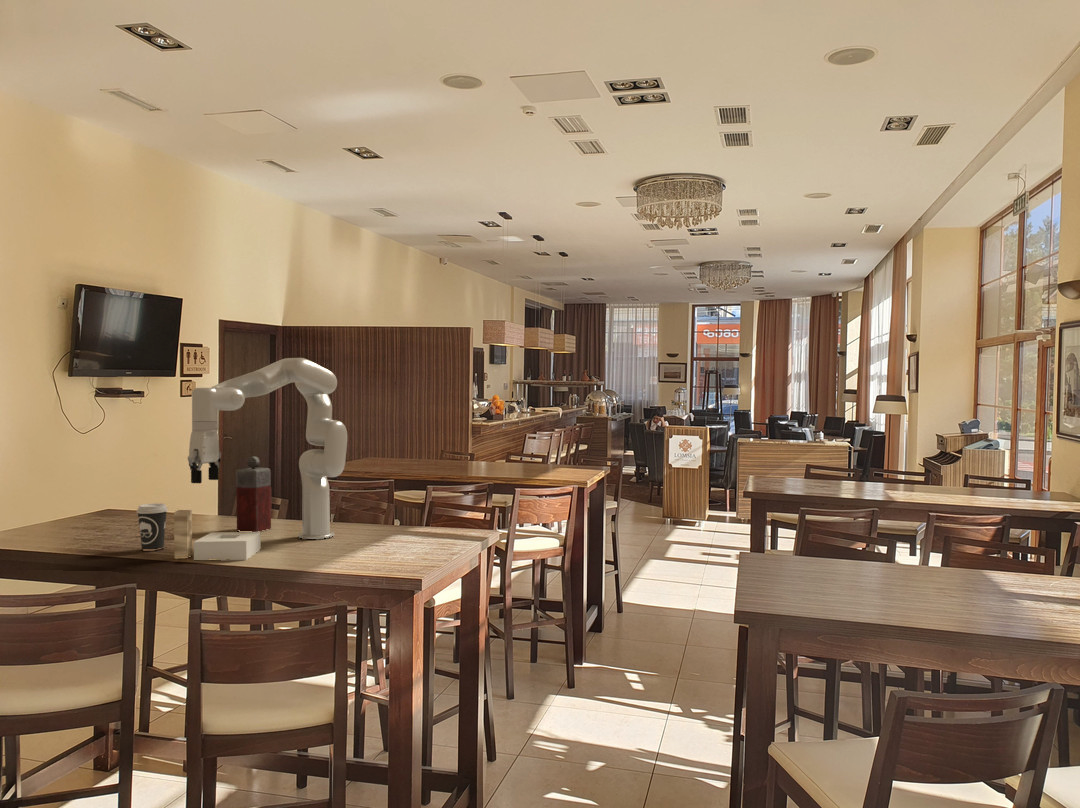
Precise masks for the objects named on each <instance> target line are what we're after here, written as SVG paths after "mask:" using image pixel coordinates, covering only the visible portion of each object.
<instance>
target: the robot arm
mask: <svg viewBox="0 0 1080 808" xmlns="http://www.w3.org/2000/svg"><path fill="white" fill-rule="evenodd" d="M291 383H294V385H295V387H296V388H297V390H298V392H299V393H300V394H301V395H302V396H303V398H304V399H305V401H306V403H307V417H306V425H305V427H306V429H305V439H306V441H307V442H308V444H310V445H312V446H316V447H317V446H318V447H324V449H315V448H313V449H309V450H306V451H304V452H303V453H302V454H301V455H300V457H299V460H298V468H299V472H300V479H301V489H302V490H301V499H302V500H301V506H302V508H301V509H302V510H301V511H302V512H301V513H302V515H301V519H302V532H300V533H298V534H297V537H299V538H298V539H300V538H302V539H301V540H306V539H316V540H325V539H324V538H326V539H329V537H330V538H333V537H334V536H335V532H334V531H332V530H331V526H330V525H331V516H330V515H331V514H330V513H331V511H330V509H331V506H330V505H331V504H330V501H331V499H330V498H331V497H330V492H331V491H330V484H329V481H328V478H336V477H339V476H340V475H342V473H343V472H344V469H345V467H346V459H347V447H348V431H347V428H346V425H345V424H344V423H343V422H342V421H340V420H337V419H336V420H335V419H333V418H332V417H333V405H332V401H331V398H330V396H329V395H330V394H332V393H333V392H335V390H336V389H337V386H338V379H337V377H336V374H334V373H333V372H332V371H331V370H329V369H327V368H325V367H323V366H321V365H320V364H318V363H315V362H314V361H312V360H310V359H307V358H305V357H287V358H282V359H280V360H277V361H275V362H273V363H270V364H269V365H266V366H264V367H262V368H260V369H257V370H254V371H252V372H248V373H246V374H242V375H240V376H236V377H233V378H230V379H227V380H225V381H222V382H220V383H218V384H215V385H213V386H211V387H195V388H193V390H192V391H191V432H190V438H189V449H188V456H187V461H188V467H189V470H190V483H191V484H202V481H203V478H202V477H203V475H202V472H203V470H202V466H203V464H208V466H209V467H208V480H209V481H218V480H220V477H219V476H220V473H219V471H220V469H219V468H220V464H221V458H222V452H221V451H220V443H219V434H218V432H219V411H226V412H227V411H228V412H229V411H230V412H231V411H233V412H234V411H237V410H239V409H241V408H242V407H243V406H244V404H245V402H246V401H245V399H246V398H253V397H254V398H256V397H260V396H264V395H267V394H270V393H272V392H274V391H276V390H279V388H282V387H284V386H286V385H288V384H291ZM332 536H333V537H332Z"/></svg>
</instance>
